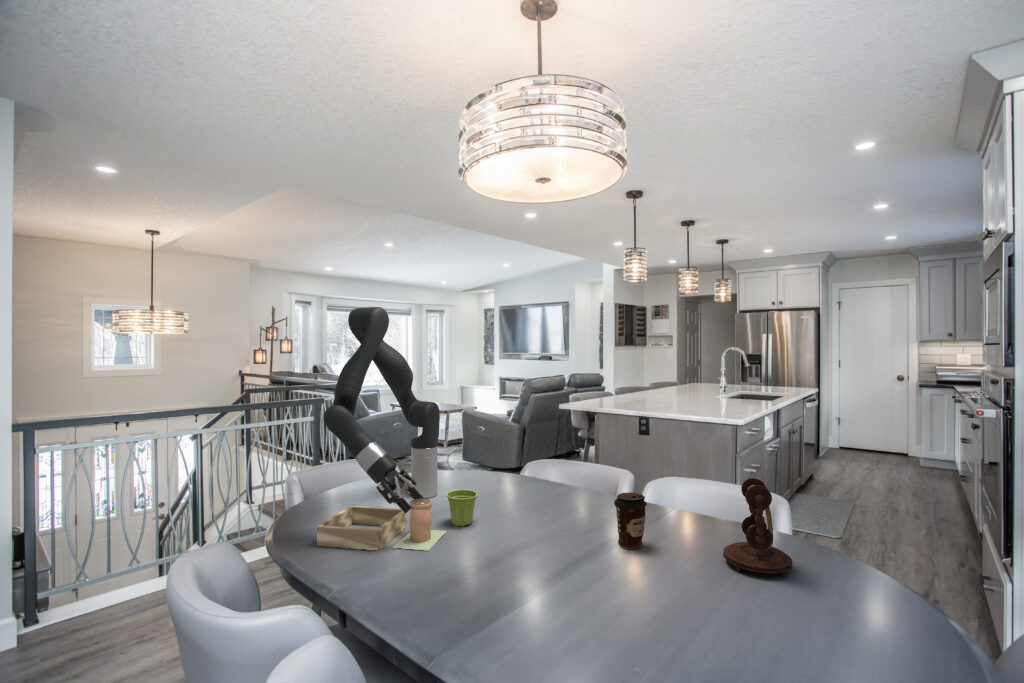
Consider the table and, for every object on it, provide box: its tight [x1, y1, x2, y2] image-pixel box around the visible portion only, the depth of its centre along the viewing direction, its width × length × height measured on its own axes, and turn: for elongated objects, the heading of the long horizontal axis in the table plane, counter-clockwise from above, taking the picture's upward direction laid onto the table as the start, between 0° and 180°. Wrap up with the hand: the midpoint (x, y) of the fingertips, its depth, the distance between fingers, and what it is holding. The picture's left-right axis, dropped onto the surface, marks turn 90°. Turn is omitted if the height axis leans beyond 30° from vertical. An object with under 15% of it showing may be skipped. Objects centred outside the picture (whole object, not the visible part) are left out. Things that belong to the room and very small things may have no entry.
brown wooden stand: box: [722, 477, 793, 578], centre depth 121 cm, size 15×15×20 cm
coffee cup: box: [613, 492, 648, 550], centre depth 134 cm, size 9×8×13 cm
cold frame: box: [316, 505, 407, 551], centre depth 142 cm, size 18×18×5 cm
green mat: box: [392, 529, 448, 552], centre depth 138 cm, size 14×10×1 cm
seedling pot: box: [408, 498, 433, 543], centre depth 139 cm, size 6×6×10 cm
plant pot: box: [446, 489, 479, 527], centre depth 152 cm, size 9×9×9 cm
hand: (415, 505), depth 139 cm, fingers open, 8 cm apart
